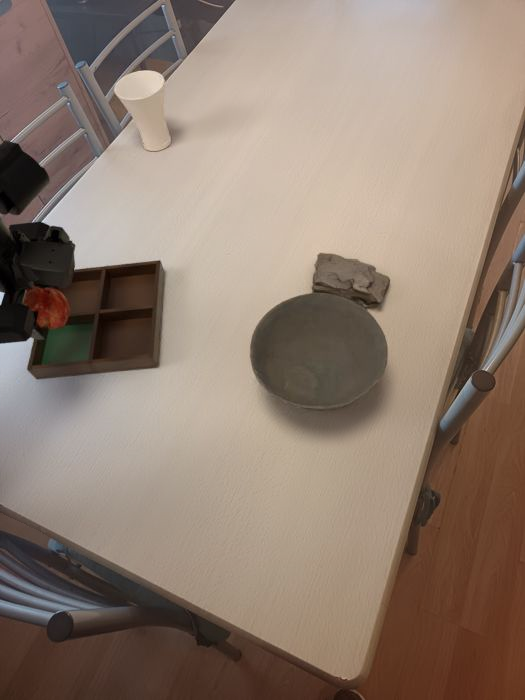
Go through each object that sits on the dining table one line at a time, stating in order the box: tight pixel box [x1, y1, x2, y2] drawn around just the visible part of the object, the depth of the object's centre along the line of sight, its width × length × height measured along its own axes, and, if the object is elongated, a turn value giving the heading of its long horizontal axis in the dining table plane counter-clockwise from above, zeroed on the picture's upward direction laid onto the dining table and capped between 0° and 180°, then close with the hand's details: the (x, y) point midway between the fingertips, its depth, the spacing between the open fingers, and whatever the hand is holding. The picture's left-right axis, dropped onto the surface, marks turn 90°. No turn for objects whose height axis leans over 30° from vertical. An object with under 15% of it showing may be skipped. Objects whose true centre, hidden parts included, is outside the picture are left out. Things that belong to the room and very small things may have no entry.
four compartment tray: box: [26, 259, 166, 380], centre depth 86 cm, size 20×20×3 cm
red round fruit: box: [23, 285, 70, 345], centre depth 71 cm, size 7×7×10 cm
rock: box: [311, 252, 391, 308], centre depth 85 cm, size 14×9×4 cm
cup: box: [113, 69, 172, 152], centre depth 107 cm, size 10×10×14 cm
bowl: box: [249, 292, 389, 412], centre depth 73 cm, size 19×19×10 cm
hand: (47, 317), depth 73 cm, fingers closed on red round fruit, 7 cm apart
